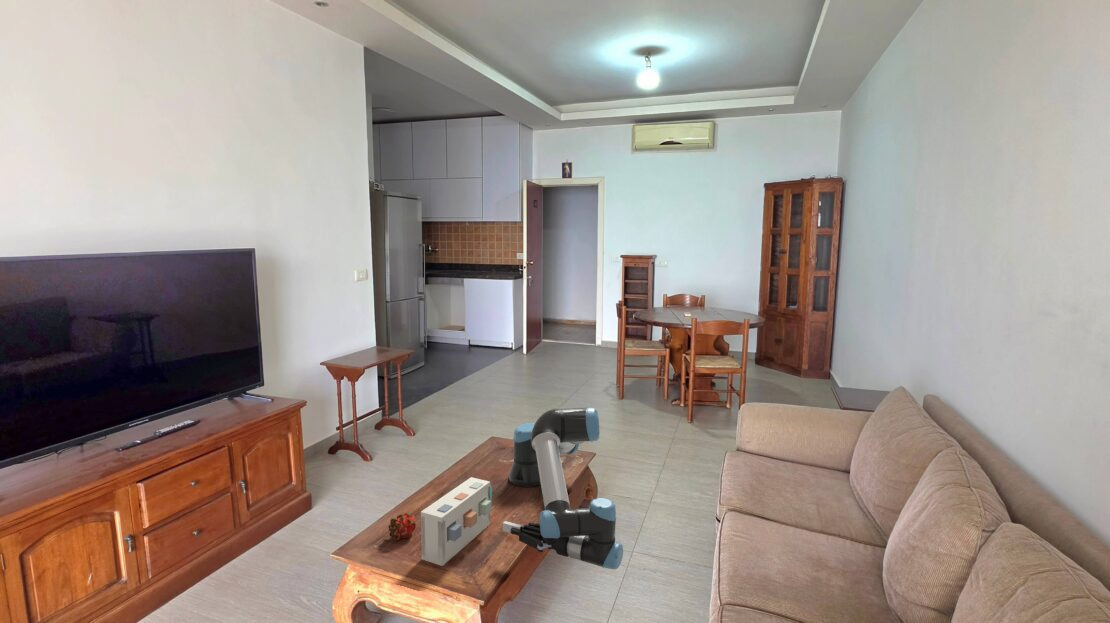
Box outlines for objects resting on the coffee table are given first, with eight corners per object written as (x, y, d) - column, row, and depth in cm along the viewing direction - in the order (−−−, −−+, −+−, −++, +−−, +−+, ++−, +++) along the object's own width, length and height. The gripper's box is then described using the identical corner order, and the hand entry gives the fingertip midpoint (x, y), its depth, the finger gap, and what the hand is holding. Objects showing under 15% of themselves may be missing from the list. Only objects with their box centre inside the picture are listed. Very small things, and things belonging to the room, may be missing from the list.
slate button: (448, 531, 177) (448, 521, 177) (461, 535, 175) (461, 525, 175) (441, 537, 174) (441, 526, 173) (454, 541, 172) (454, 530, 171)
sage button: (479, 507, 193) (479, 497, 193) (491, 510, 191) (491, 501, 191) (473, 512, 190) (473, 502, 190) (485, 515, 188) (485, 505, 187)
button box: (471, 519, 199) (471, 476, 197) (490, 524, 196) (490, 480, 194) (421, 559, 174) (420, 510, 172) (442, 566, 171) (441, 516, 169)
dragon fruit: (389, 550, 182) (410, 536, 193) (408, 538, 180) (428, 526, 191) (378, 526, 183) (399, 514, 195) (397, 515, 181) (416, 503, 193)
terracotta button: (464, 519, 185) (464, 509, 185) (477, 522, 183) (477, 512, 183) (458, 524, 182) (458, 513, 181) (471, 527, 180) (471, 517, 179)
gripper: (562, 567, 161) (493, 547, 171) (579, 545, 173) (513, 527, 183) (563, 543, 160) (493, 524, 170) (580, 522, 172) (514, 506, 182)
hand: (504, 525), depth 176 cm, fingers closed
